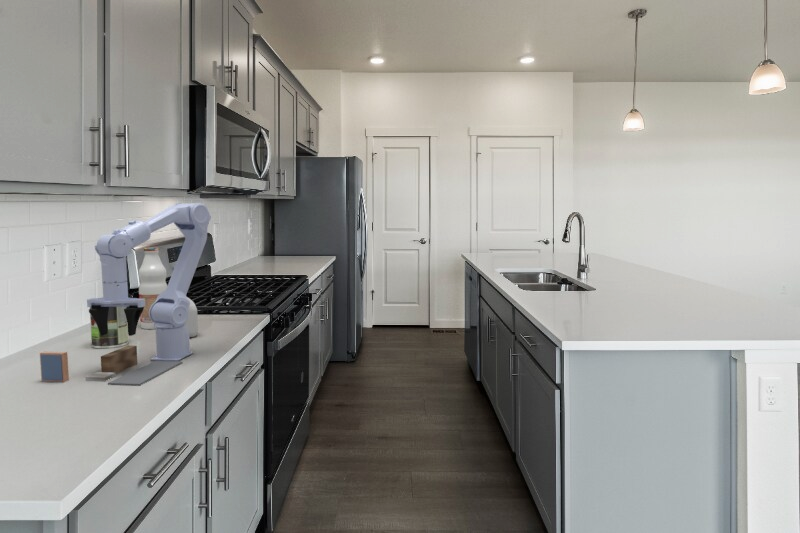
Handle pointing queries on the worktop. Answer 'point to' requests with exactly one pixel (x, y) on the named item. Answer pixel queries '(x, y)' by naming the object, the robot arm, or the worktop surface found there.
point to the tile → (54, 366)
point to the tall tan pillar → (115, 363)
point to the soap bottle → (192, 319)
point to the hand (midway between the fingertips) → (118, 334)
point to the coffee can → (111, 330)
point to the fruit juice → (151, 283)
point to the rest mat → (145, 373)
